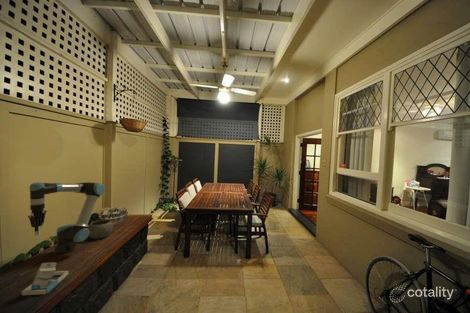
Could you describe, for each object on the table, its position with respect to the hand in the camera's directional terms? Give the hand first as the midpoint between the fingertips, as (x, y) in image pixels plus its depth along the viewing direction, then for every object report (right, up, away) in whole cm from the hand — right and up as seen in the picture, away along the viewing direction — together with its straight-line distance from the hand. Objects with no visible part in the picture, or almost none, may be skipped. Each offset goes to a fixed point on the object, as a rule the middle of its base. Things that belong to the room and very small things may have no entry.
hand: (37, 234), depth 145 cm
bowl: (+2, -28, +65) cm, 70 cm away
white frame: (+17, -30, -10) cm, 36 cm away
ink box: (+17, -29, -16) cm, 37 cm away
